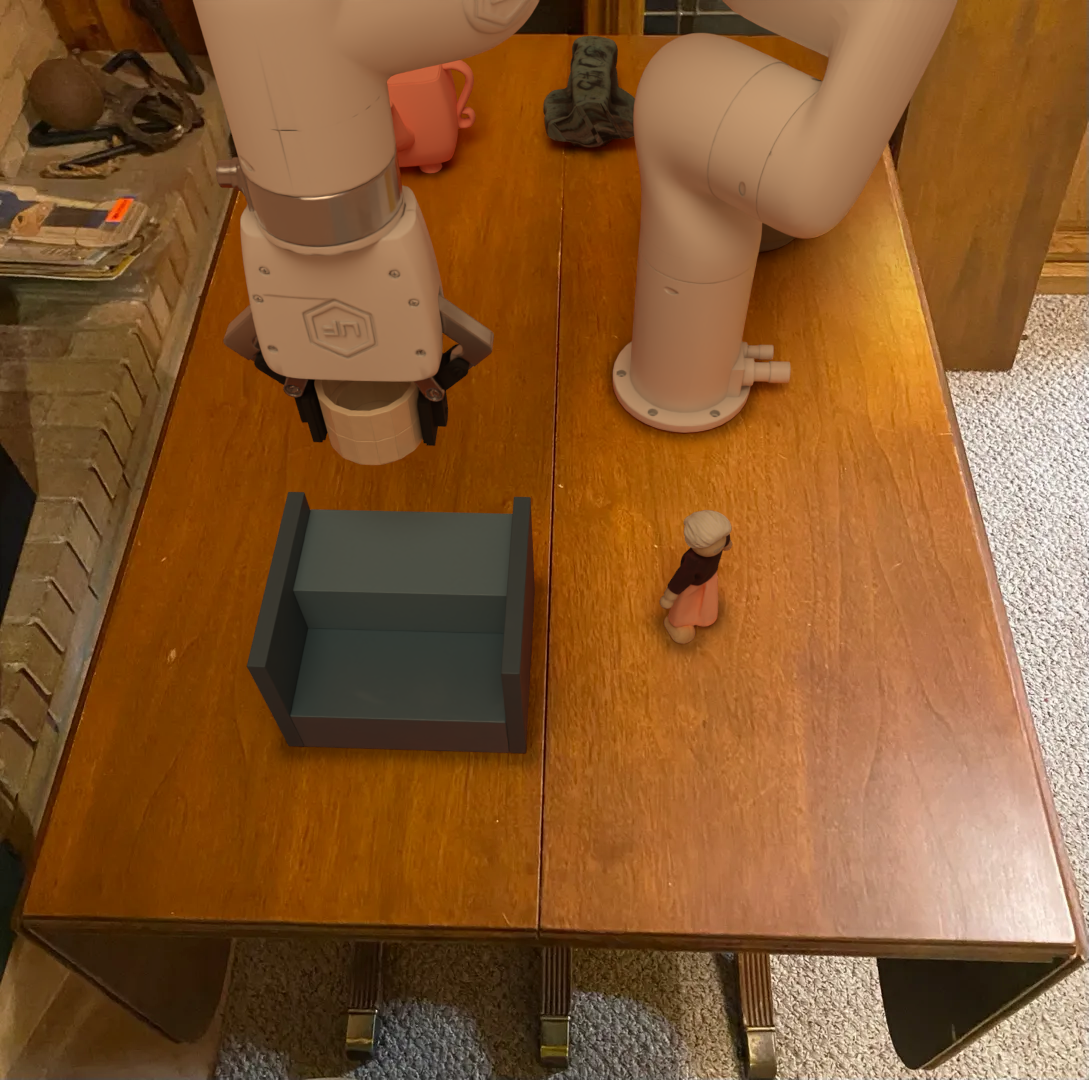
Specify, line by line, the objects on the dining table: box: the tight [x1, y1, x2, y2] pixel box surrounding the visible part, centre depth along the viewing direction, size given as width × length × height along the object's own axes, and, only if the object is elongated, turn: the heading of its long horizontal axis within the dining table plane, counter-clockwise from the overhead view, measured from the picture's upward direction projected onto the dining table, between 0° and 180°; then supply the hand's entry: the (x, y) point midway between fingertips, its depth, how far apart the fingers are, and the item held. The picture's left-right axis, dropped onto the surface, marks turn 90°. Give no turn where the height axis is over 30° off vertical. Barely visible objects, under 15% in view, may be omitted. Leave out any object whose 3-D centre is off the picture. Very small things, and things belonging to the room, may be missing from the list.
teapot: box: [387, 59, 477, 174], centre depth 111 cm, size 15×17×13 cm
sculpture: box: [542, 35, 635, 148], centre depth 116 cm, size 12×8×15 cm
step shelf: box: [246, 491, 536, 754], centre depth 73 cm, size 17×14×12 cm
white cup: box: [314, 379, 423, 466], centre depth 64 cm, size 6×6×5 cm
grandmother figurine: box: [659, 509, 733, 645], centre depth 74 cm, size 8×4×13 cm, turn 148°
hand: (377, 425), depth 65 cm, fingers closed on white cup, 6 cm apart
